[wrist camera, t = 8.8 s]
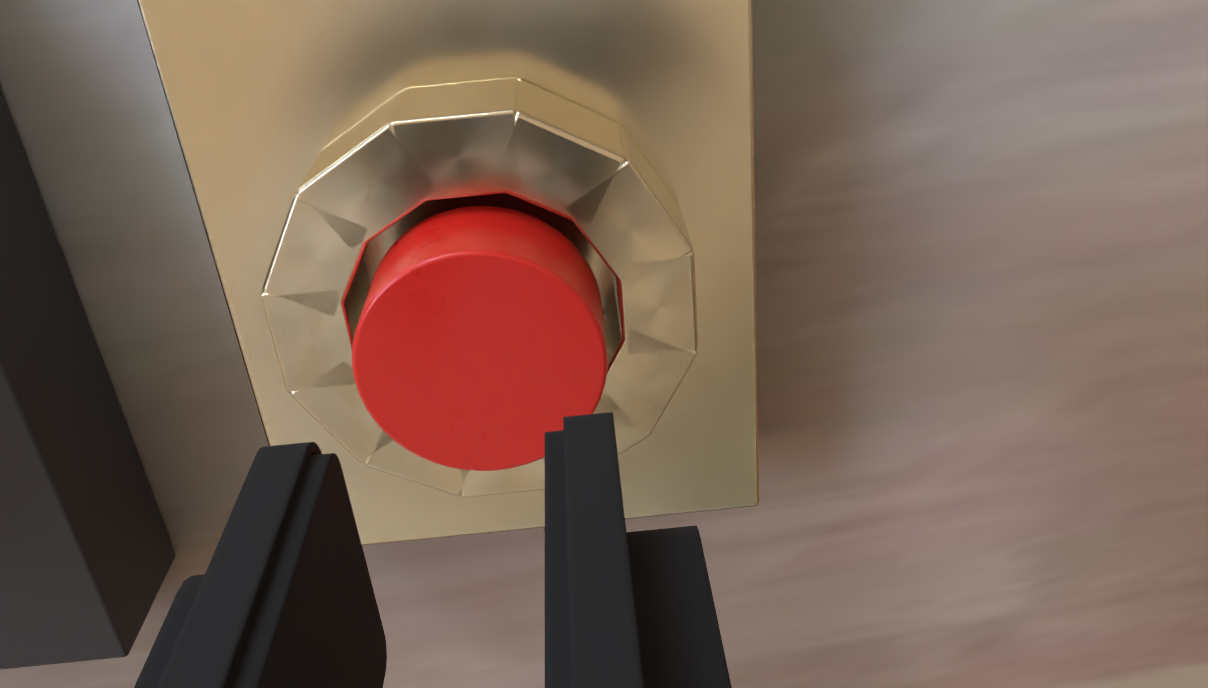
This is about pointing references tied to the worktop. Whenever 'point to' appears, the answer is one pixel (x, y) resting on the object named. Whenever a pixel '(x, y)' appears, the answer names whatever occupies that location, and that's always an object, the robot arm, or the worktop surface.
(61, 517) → the panel
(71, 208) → the worktop surface
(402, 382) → the button
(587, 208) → the button box
